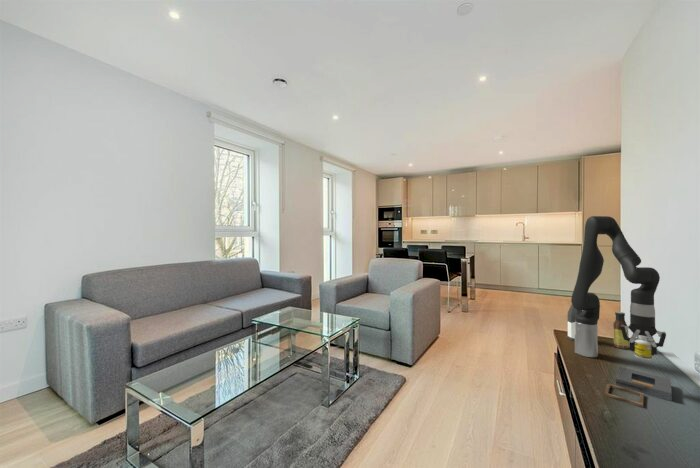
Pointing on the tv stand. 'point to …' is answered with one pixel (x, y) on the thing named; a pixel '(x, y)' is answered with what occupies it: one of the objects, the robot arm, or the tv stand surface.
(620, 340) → the sauce bottle
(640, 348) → the supplement bottle
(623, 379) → the socket plate
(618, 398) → the cradle
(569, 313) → the wine bottle
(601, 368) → the tv stand surface
